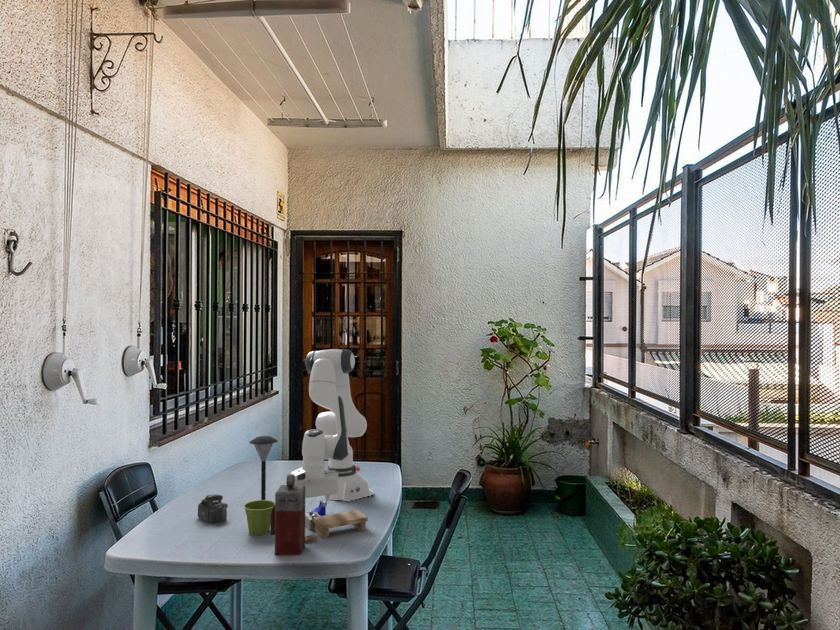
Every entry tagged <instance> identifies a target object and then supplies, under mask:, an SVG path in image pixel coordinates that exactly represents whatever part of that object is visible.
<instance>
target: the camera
mask: <svg viewBox="0 0 840 630" xmlns="http://www.w3.org/2000/svg"><path fill="white" fill-rule="evenodd" d="M223 499H224V496H223V495H221V494H216V493H215V494H207V495H205V498H204V499H201V502H200V503H198V504H197V518H199V519H200V520H202V521H204V522H207V523H210V524H220V523H224V522H227V518H228V517H227V516H228V515H227V514H228V511H227V509H228V508H229V506H228V503H225V502H222V501H223Z"/></svg>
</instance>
